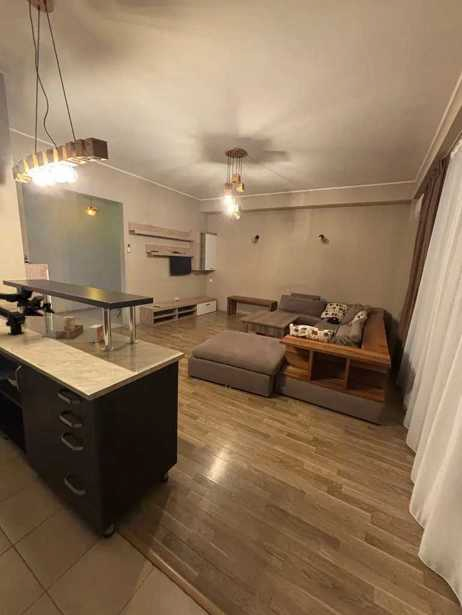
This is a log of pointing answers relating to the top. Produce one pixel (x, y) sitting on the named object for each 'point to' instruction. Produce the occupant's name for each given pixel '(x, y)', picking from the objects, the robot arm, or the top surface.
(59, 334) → the walnut crate
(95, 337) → the small box
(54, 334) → the slate mat
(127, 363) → the top surface
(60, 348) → the top surface
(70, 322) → the ash block
